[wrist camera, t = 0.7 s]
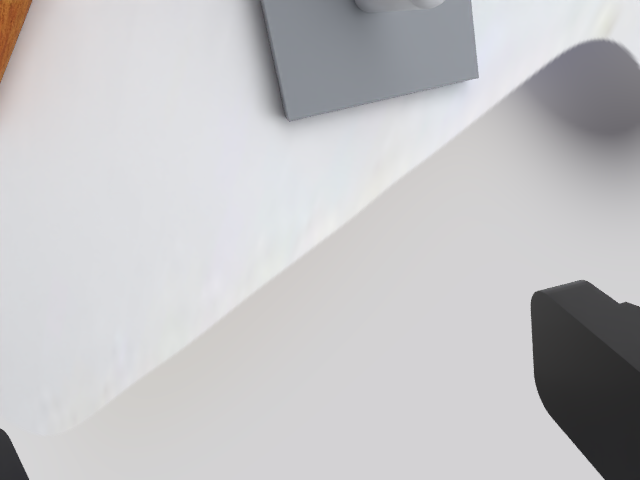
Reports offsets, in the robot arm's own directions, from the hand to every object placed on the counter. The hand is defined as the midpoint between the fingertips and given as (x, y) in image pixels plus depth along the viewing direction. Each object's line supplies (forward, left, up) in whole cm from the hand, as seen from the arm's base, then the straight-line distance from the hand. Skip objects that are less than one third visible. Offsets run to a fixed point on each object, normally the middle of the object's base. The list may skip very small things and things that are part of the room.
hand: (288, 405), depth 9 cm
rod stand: (-5, +8, -24) cm, 26 cm away
